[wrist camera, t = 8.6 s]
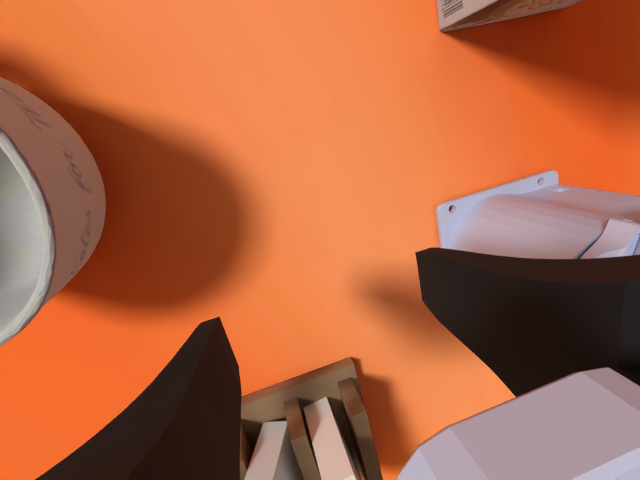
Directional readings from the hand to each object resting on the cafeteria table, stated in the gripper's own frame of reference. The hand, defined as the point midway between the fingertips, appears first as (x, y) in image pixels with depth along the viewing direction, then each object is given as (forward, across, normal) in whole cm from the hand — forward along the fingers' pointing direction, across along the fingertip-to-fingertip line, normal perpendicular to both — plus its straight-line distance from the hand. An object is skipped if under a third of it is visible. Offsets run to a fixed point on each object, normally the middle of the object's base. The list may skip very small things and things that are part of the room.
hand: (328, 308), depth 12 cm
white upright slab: (+9, +1, +16) cm, 18 cm away
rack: (+10, +3, +16) cm, 19 cm away
